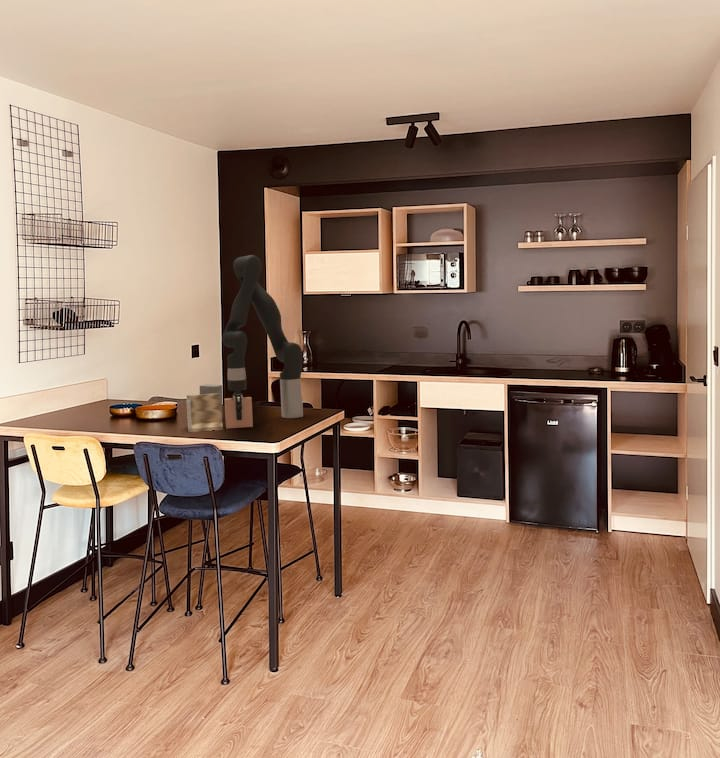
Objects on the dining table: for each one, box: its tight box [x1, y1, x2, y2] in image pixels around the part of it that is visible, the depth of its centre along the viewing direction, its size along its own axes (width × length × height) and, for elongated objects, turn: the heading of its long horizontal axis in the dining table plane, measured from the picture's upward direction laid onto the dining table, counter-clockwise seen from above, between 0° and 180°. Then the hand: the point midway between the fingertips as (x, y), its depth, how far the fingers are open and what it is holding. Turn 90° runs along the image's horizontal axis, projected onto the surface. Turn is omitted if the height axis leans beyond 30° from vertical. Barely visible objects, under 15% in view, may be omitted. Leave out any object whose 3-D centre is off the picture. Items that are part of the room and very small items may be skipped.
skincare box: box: [199, 383, 223, 413], centre depth 330 cm, size 8×7×16 cm
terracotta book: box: [224, 396, 254, 430], centre depth 312 cm, size 11×4×12 cm, turn 102°
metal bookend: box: [185, 397, 192, 430], centre depth 308 cm, size 2×12×11 cm, turn 12°
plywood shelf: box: [186, 393, 224, 433], centre depth 310 cm, size 14×13×14 cm
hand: (238, 418), depth 312 cm, fingers closed on terracotta book, 4 cm apart
